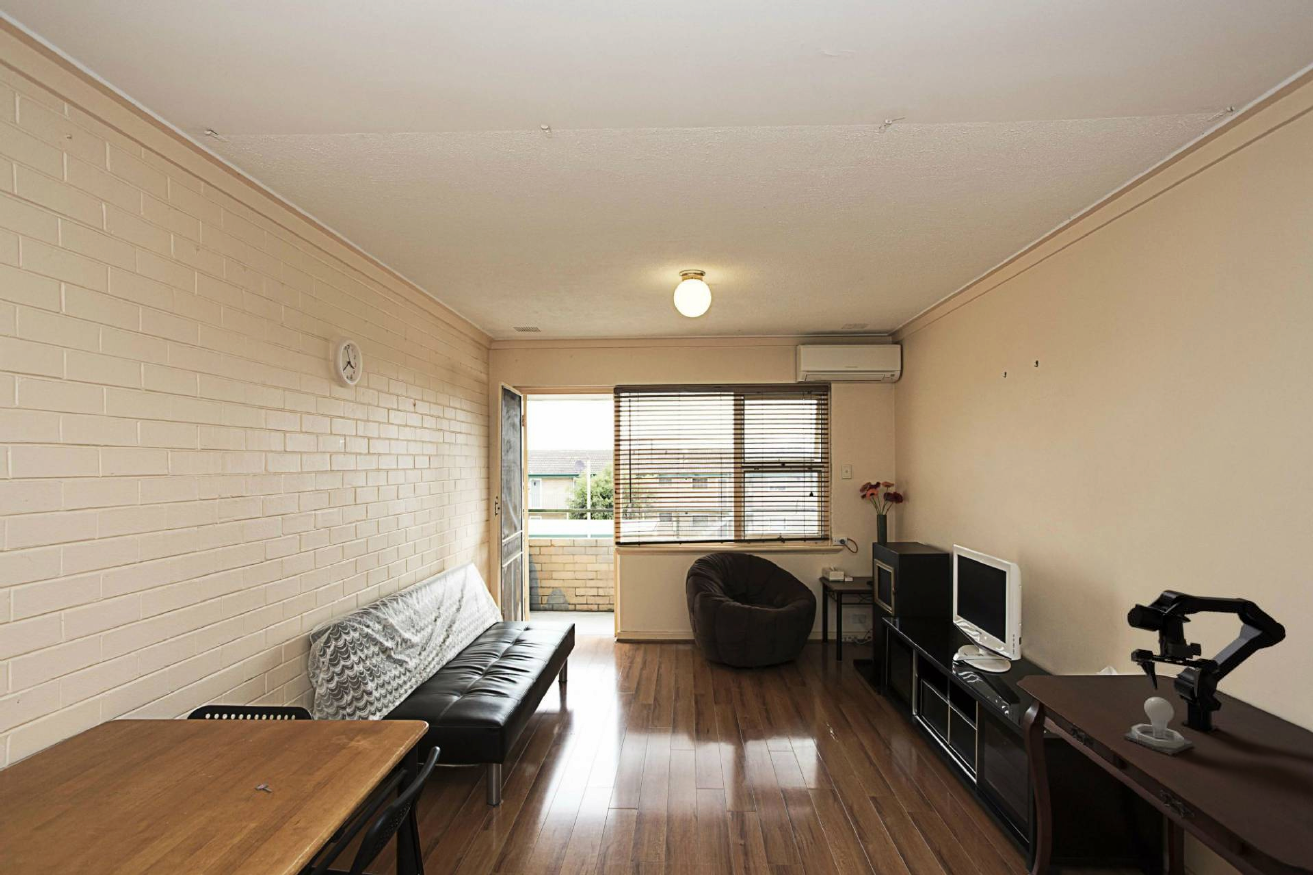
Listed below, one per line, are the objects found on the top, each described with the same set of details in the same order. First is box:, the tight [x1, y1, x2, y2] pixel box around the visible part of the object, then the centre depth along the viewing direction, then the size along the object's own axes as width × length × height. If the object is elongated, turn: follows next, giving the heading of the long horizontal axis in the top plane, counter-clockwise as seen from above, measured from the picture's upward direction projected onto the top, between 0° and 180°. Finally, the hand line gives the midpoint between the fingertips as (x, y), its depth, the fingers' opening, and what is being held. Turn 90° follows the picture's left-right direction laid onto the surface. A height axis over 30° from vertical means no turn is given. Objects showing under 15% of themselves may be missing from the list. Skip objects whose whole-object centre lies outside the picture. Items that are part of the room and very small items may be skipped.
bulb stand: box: [1123, 723, 1193, 756], centre depth 177 cm, size 11×11×2 cm
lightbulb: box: [1143, 696, 1175, 739], centre depth 177 cm, size 6×6×11 cm
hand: (1176, 693), depth 179 cm, fingers open, 9 cm apart
